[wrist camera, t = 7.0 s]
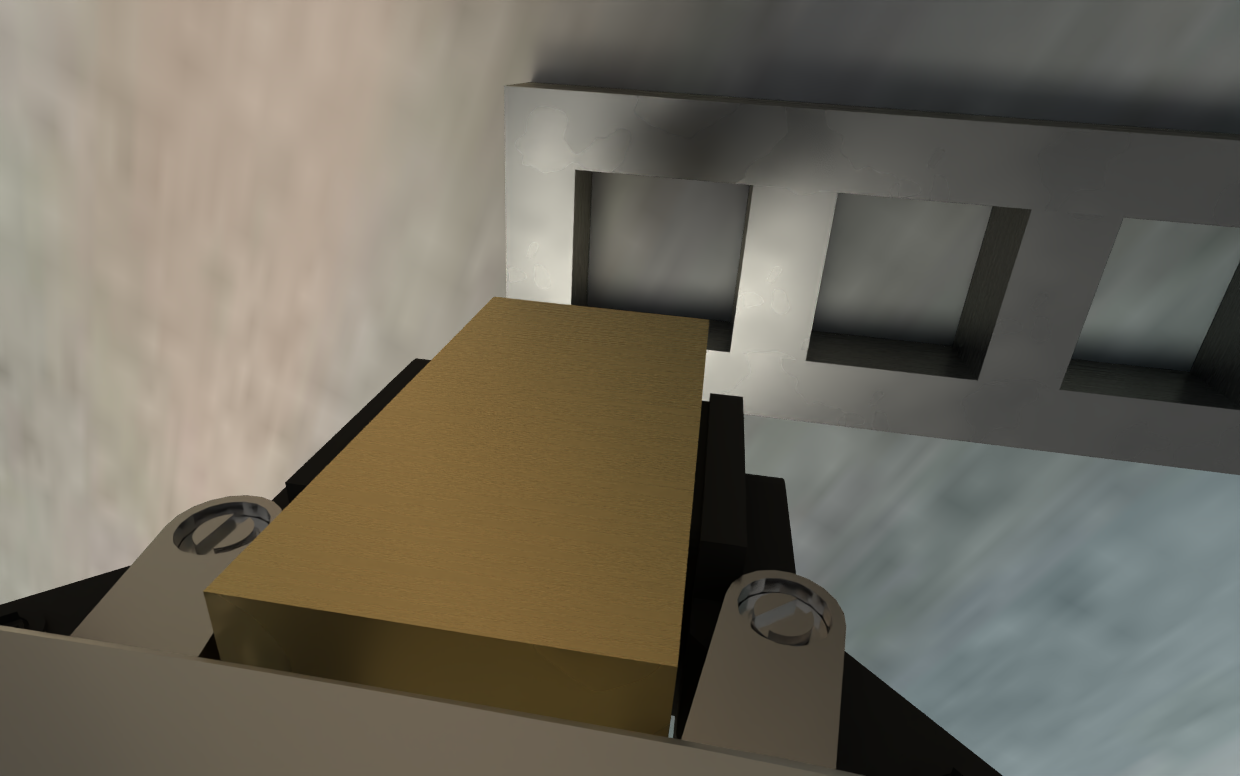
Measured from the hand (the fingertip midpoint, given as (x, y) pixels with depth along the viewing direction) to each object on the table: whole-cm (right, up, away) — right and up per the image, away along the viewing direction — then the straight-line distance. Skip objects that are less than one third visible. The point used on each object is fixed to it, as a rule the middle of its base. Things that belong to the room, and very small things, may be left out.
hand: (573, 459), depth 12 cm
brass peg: (0, +1, +2) cm, 2 cm away
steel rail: (+10, +6, +13) cm, 17 cm away
